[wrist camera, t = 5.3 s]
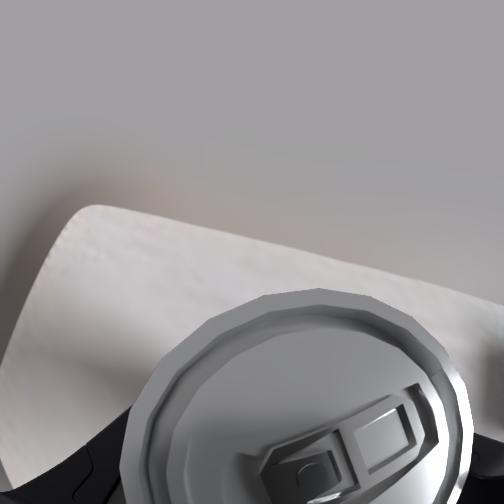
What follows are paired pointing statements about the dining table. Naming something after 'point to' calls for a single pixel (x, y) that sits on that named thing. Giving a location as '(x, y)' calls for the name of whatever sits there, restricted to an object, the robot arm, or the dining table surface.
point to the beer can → (301, 410)
